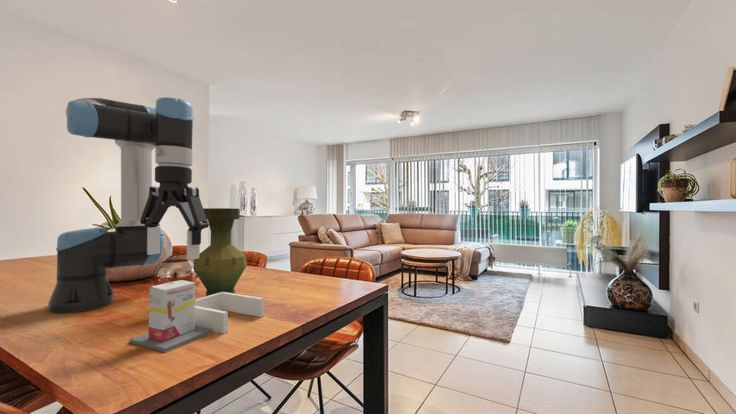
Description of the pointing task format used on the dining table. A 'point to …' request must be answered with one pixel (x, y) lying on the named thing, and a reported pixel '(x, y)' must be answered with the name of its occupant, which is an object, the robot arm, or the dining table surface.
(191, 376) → the dining table surface
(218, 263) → the vase
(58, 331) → the dining table surface
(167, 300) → the ink box
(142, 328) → the dining table surface
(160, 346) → the stand pad
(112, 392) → the dining table surface
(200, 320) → the frame
